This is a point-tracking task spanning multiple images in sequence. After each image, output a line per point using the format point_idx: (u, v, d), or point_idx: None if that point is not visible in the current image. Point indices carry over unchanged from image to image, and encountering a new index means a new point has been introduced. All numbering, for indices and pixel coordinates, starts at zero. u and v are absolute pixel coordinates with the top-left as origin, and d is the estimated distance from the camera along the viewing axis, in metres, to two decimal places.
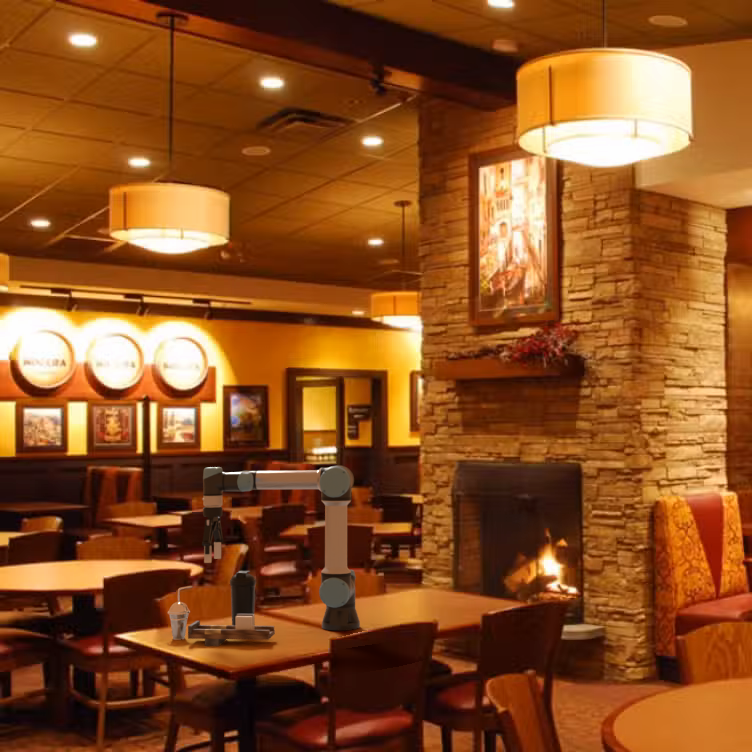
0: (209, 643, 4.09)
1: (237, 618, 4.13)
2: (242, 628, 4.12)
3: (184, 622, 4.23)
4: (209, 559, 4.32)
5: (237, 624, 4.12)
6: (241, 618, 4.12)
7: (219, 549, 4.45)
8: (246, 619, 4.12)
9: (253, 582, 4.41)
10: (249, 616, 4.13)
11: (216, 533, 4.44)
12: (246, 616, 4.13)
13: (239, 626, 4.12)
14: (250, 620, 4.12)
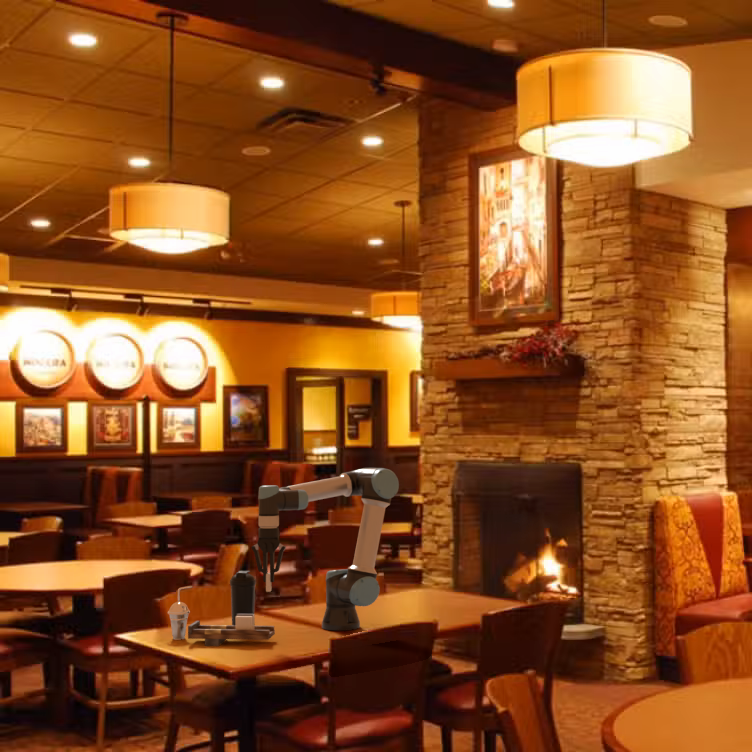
0: (209, 643, 4.09)
1: (237, 618, 4.13)
2: (242, 628, 4.12)
3: (184, 622, 4.23)
4: None
5: (237, 624, 4.12)
6: (241, 618, 4.12)
7: None
8: (246, 619, 4.12)
9: (253, 582, 4.41)
10: (249, 616, 4.13)
11: None
12: (246, 616, 4.13)
13: (239, 626, 4.12)
14: (250, 620, 4.12)
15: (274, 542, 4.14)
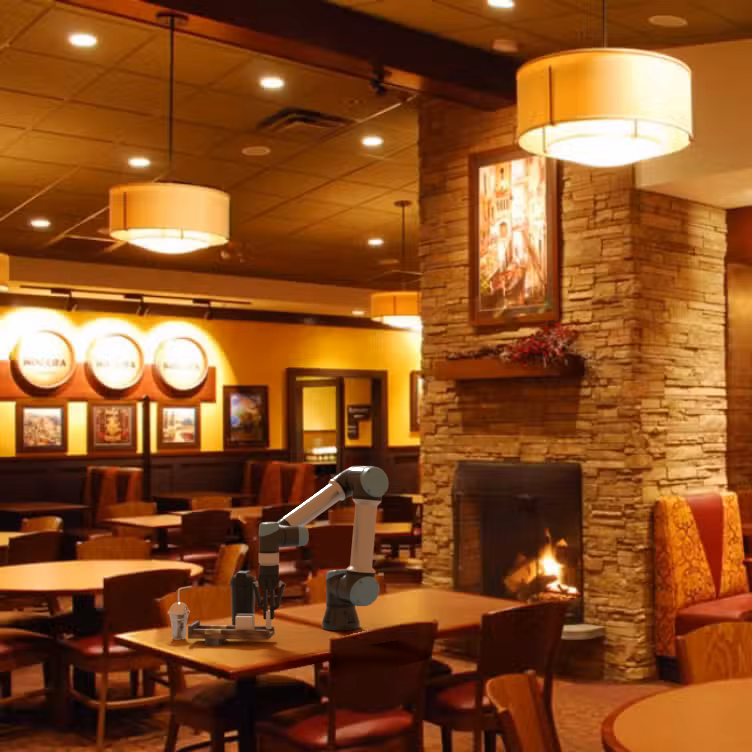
0: (209, 643, 4.09)
1: (237, 618, 4.13)
2: (242, 628, 4.12)
3: (184, 622, 4.23)
4: None
5: (237, 624, 4.12)
6: (241, 618, 4.12)
7: None
8: (246, 619, 4.12)
9: (253, 582, 4.41)
10: (249, 616, 4.13)
11: None
12: (246, 616, 4.13)
13: (239, 626, 4.12)
14: (250, 620, 4.12)
15: (274, 579, 4.13)
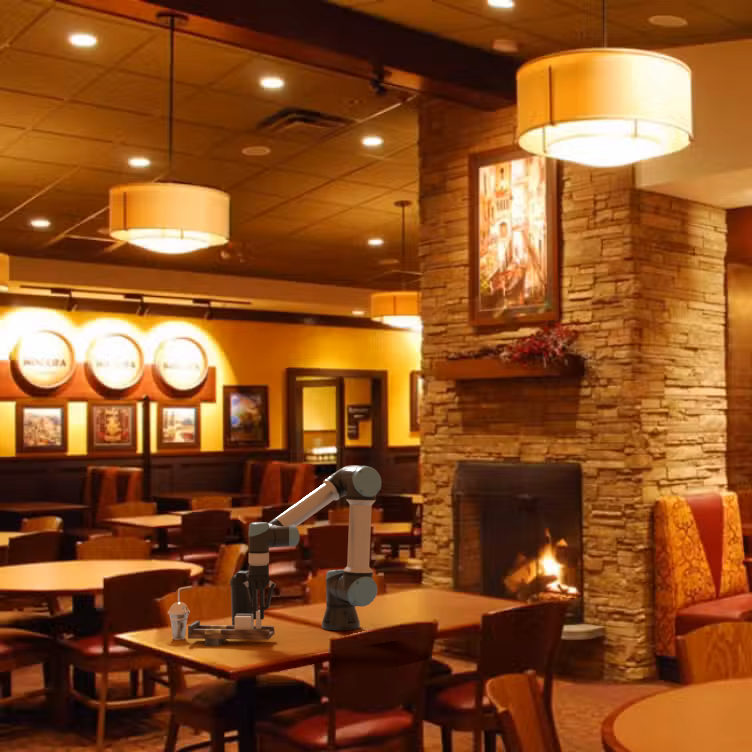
0: (209, 643, 4.09)
1: (236, 618, 4.13)
2: (241, 628, 4.12)
3: (184, 622, 4.23)
4: None
5: (236, 624, 4.12)
6: (240, 618, 4.12)
7: None
8: (245, 619, 4.12)
9: None
10: (248, 616, 4.13)
11: None
12: (245, 616, 4.13)
13: (238, 626, 4.12)
14: (249, 620, 4.12)
15: (264, 579, 4.14)
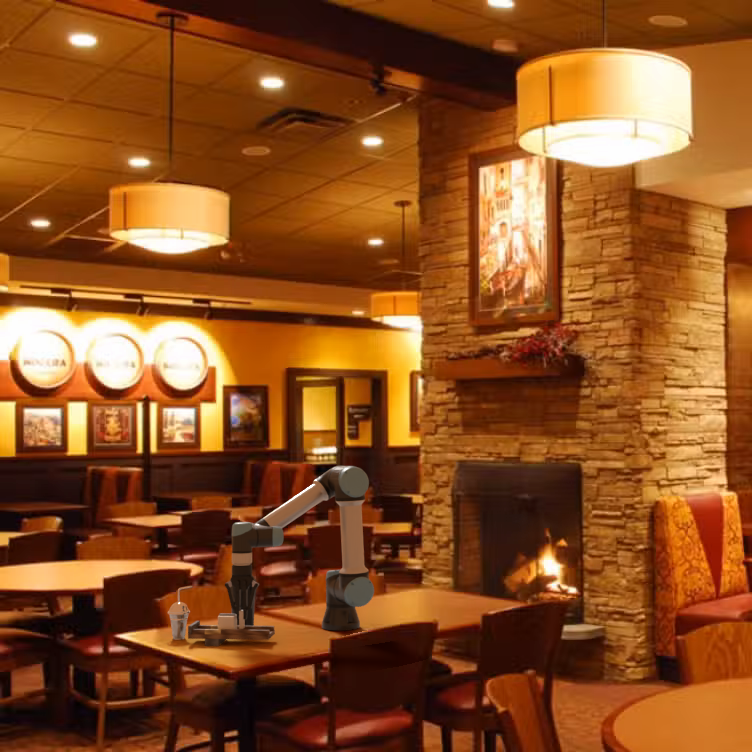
0: (209, 643, 4.09)
1: (219, 618, 4.13)
2: (225, 628, 4.13)
3: (184, 622, 4.23)
4: None
5: (219, 624, 4.13)
6: (223, 618, 4.13)
7: None
8: (228, 619, 4.13)
9: None
10: (231, 616, 4.14)
11: None
12: (228, 616, 4.14)
13: (221, 625, 4.13)
14: (232, 620, 4.13)
15: (247, 579, 4.14)
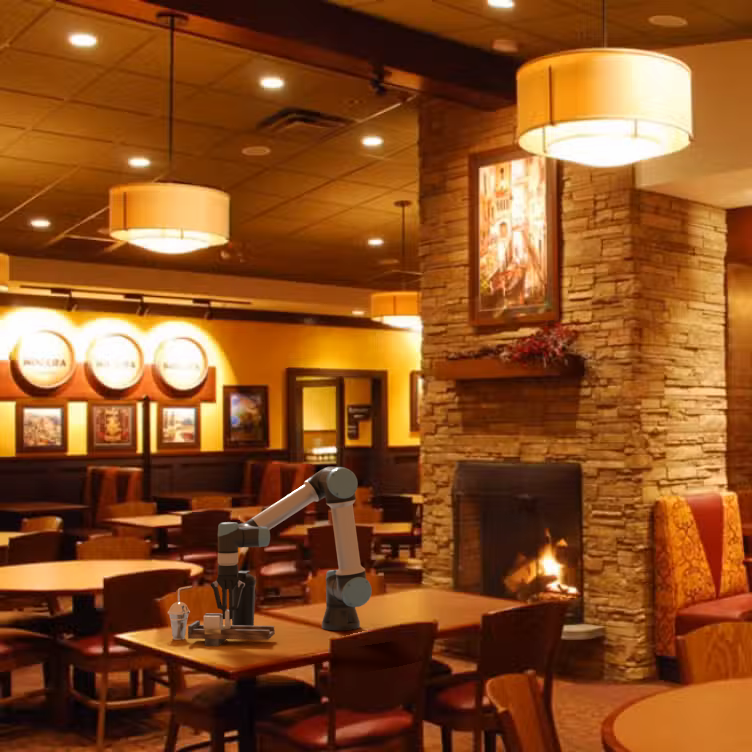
0: (209, 643, 4.09)
1: (205, 618, 4.14)
2: (210, 627, 4.13)
3: (184, 622, 4.23)
4: None
5: (205, 624, 4.14)
6: (209, 618, 4.14)
7: None
8: (214, 619, 4.13)
9: (253, 582, 4.41)
10: (217, 616, 4.14)
11: None
12: (214, 616, 4.15)
13: (207, 625, 4.14)
14: (218, 620, 4.13)
15: (233, 579, 4.15)
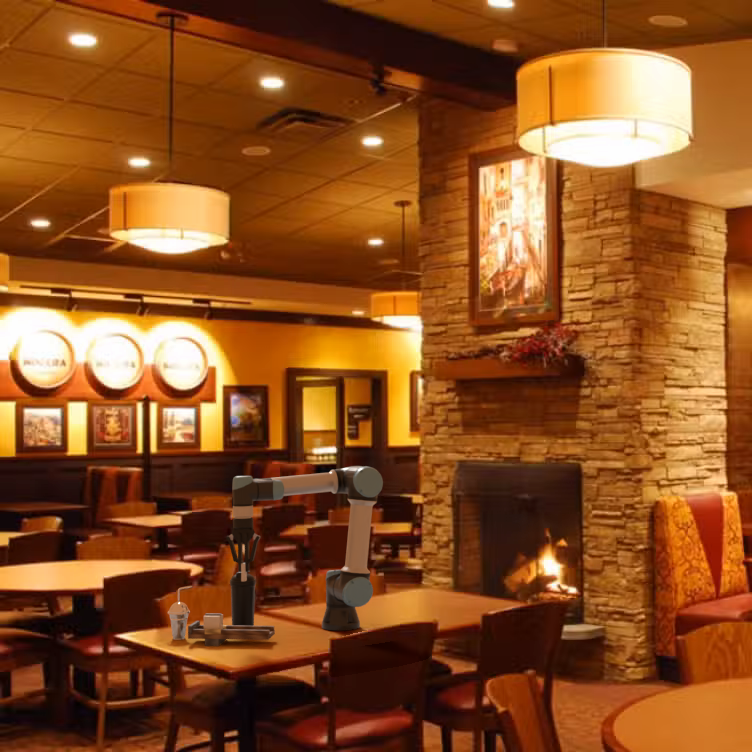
0: (209, 643, 4.09)
1: (205, 618, 4.14)
2: (210, 627, 4.13)
3: (184, 622, 4.23)
4: None
5: (205, 624, 4.14)
6: (209, 618, 4.14)
7: None
8: (214, 619, 4.13)
9: (253, 582, 4.41)
10: (217, 616, 4.14)
11: None
12: (214, 616, 4.15)
13: (207, 625, 4.14)
14: (218, 620, 4.13)
15: (249, 532, 4.17)
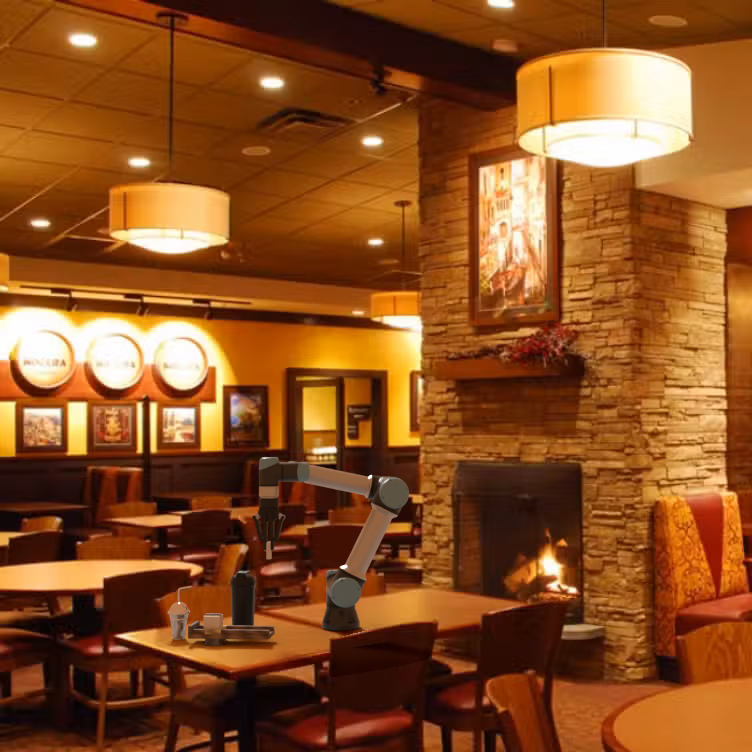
0: (209, 643, 4.09)
1: (205, 618, 4.14)
2: (210, 627, 4.13)
3: (184, 622, 4.23)
4: None
5: (205, 624, 4.14)
6: (209, 618, 4.14)
7: None
8: (214, 619, 4.13)
9: (253, 582, 4.41)
10: (217, 616, 4.14)
11: None
12: (214, 616, 4.15)
13: (207, 625, 4.14)
14: (218, 620, 4.13)
15: (274, 512, 4.30)
